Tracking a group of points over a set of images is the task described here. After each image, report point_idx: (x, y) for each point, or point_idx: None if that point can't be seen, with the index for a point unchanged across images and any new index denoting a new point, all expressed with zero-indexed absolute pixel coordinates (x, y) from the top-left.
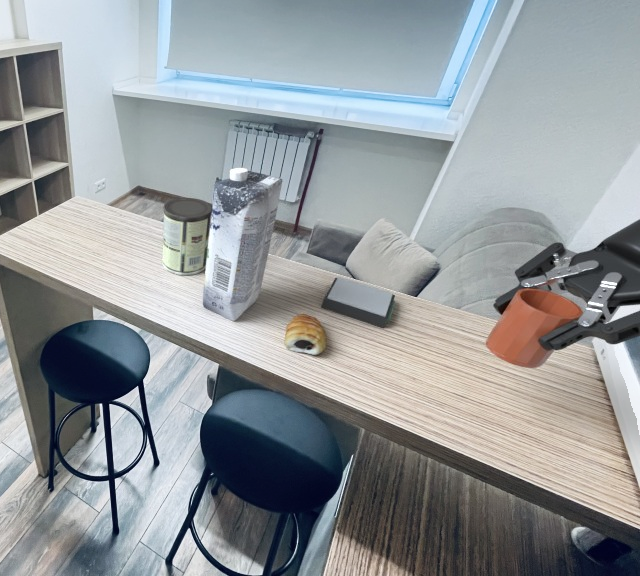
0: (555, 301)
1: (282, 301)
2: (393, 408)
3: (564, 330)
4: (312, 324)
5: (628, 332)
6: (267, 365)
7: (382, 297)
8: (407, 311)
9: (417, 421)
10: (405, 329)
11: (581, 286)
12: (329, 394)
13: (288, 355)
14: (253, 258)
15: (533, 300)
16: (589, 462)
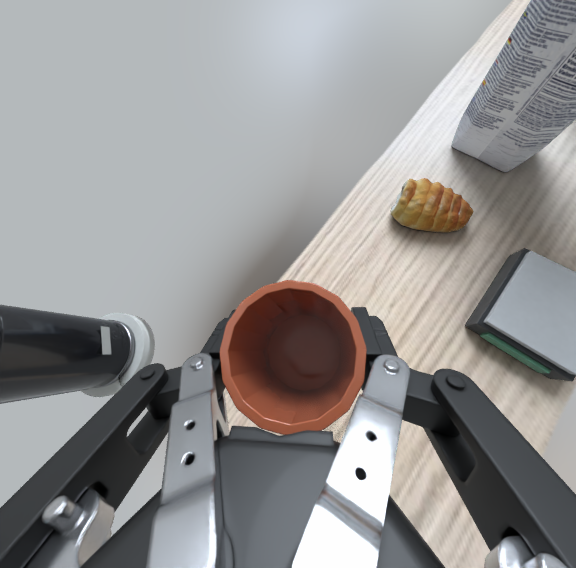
0: (319, 412)
1: (515, 208)
2: (313, 266)
3: (221, 334)
4: (438, 203)
5: (140, 437)
6: (373, 169)
7: (549, 343)
8: (528, 396)
9: (297, 280)
10: (467, 360)
11: (279, 451)
12: (333, 214)
13: (391, 191)
14: (541, 22)
15: (347, 377)
16: (236, 425)
